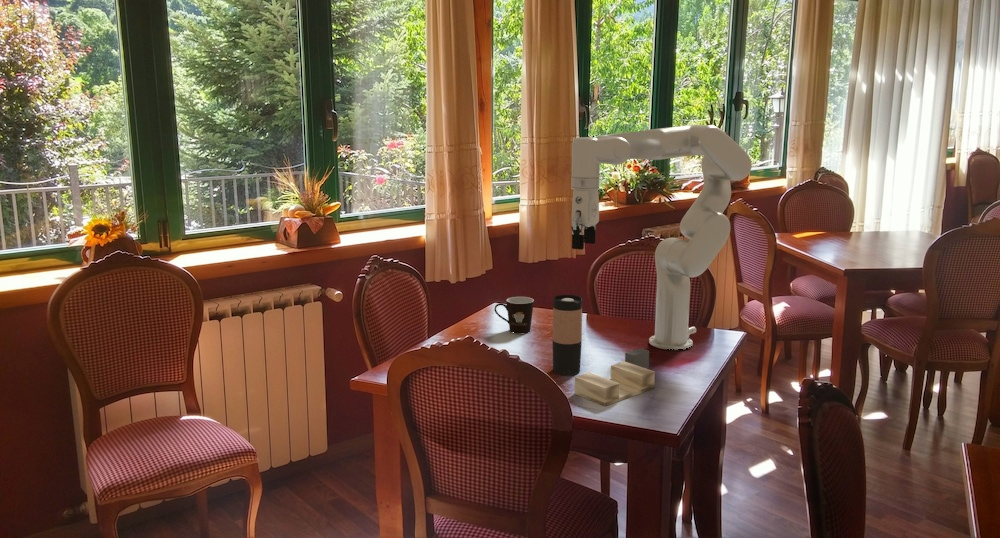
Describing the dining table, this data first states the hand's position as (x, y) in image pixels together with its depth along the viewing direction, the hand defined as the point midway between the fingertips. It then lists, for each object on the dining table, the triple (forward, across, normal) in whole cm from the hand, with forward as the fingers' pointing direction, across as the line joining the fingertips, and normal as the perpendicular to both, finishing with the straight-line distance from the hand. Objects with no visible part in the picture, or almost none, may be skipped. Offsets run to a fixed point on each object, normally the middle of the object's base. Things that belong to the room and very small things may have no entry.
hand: (583, 246), depth 208 cm
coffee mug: (+32, +14, +27) cm, 44 cm away
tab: (+31, -8, -18) cm, 37 cm away
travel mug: (+32, -14, -1) cm, 35 cm away
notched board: (+31, -23, -17) cm, 42 cm away
